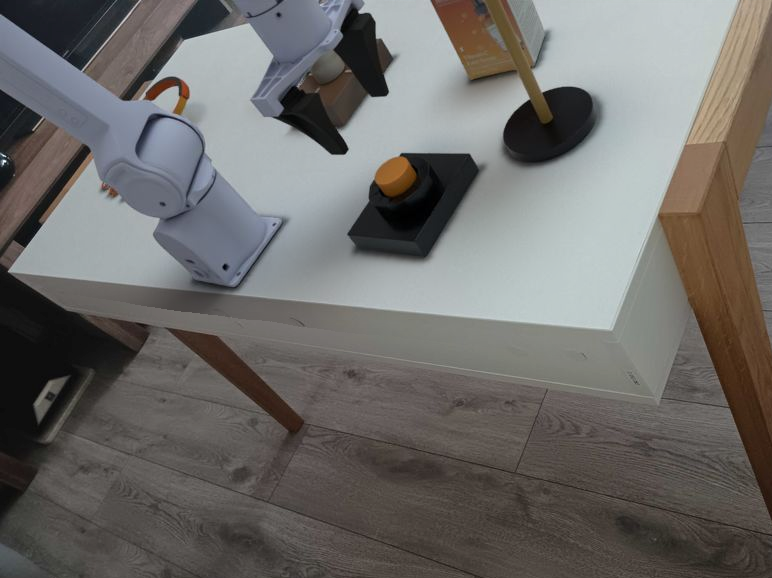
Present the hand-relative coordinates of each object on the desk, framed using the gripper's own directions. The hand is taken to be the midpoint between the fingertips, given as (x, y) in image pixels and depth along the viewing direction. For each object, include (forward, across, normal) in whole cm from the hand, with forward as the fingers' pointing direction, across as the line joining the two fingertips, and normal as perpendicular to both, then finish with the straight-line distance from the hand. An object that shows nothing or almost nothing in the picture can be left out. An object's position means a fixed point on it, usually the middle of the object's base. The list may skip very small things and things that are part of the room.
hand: (360, 122), depth 71 cm
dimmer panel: (+8, +15, +20) cm, 27 cm away
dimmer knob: (+5, +15, +20) cm, 26 cm away
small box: (+9, +19, -3) cm, 21 cm away
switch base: (+8, -3, -4) cm, 10 cm away
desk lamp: (+8, +8, -14) cm, 18 cm away
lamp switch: (+5, -3, -4) cm, 7 cm away
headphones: (+8, +5, +53) cm, 54 cm away
